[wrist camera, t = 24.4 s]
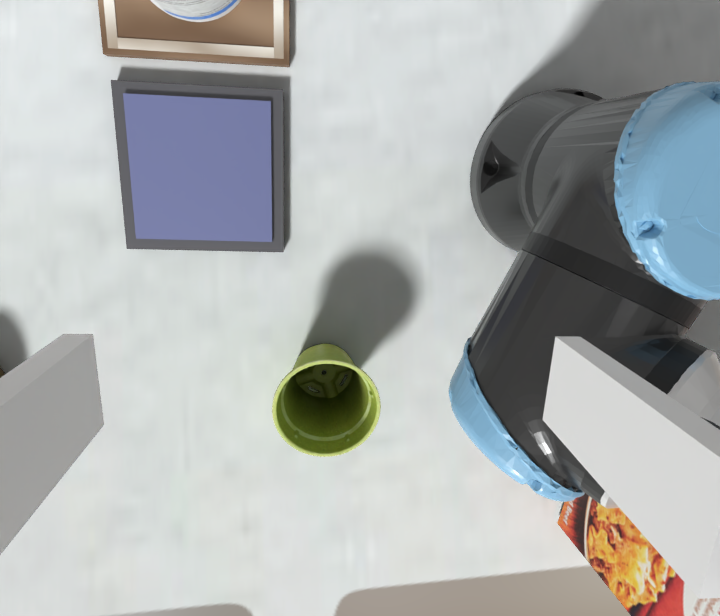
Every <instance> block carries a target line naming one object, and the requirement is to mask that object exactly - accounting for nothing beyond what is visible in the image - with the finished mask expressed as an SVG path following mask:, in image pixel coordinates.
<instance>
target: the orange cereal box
mask: <svg viewBox="0 0 720 616" xmlns="http://www.w3.org/2000/svg"><path fill="white" fill-rule="evenodd" d="M558 525H559V526H560V527H561V528H562V530H563V531H564V532H565V533H566V535H567V536H568V537H569V538H570V540H571V541H572V542H573V543H574V545H575V546H576V547H577V548H578V550H579V551H580V552H581V553H582V555H583V556H584V557H585V558H586V560H587V561H588V562H589V563H590V565H591V566H592V567H593V568H594V570H595V571H596V572H597V573H598V575H599V576H600V577H601V578H602V580H603V581H604V582H605V584H606V585H607V586H608V587H609V589H610V590H611V591H612V592H613V594H614V595H615V596H616V597H617V599H618V600H619V601H620V602H621V604H622V605H623V606H624V607H625V609H626V610H627V611H628V612H629V613H630V615H631V616H720V598H705V599H699V598H698V597H697V596H696V595H695V594H694V593H693V591H692V590H691V589H690V588H689V587H688V586H687V585H686V583H685V582H684V581H683V580H682V579H681V578H680V577H679V575H678V574H677V573H676V572H675V571H674V570H673V569H672V567H671V566H670V565H669V564H668V563H667V562H666V560H665V559H664V558H663V557H662V556H661V555H660V554H659V552H658V551H657V550H656V549H655V548H654V547H653V546H652V544H651V543H650V542H649V541H648V540H647V539H646V538H645V536H644V535H643V534H642V533H641V532H640V531H639V530H638V528H637V527H636V526H635V525H634V524H633V523H632V522H631V520H630V519H629V518H628V517H627V516H626V515H625V514H624V512H623V511H622V510H621V509H620V508H608V509H607V508H605V507H604V506H602V505H600V504H599V503H598V502H596V501H595V500H594V499H592V498H591V497H590V496H588V495H587V494H586V493H585V494H584V495H583V496H581V497H577V498H575V499H574V500H572V501H567V502H565V503H564V505H563V508H562V511H561V514H560V517H559V520H558Z"/></svg>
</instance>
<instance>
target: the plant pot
mask: <svg viewBox="0 0 720 616" xmlns="http://www.w3.org/2000/svg"><path fill="white" fill-rule="evenodd" d="M323 370H325V371H326V374H325V375H323V374H322V371H323ZM345 374H347V378H346V380H345V383H344V384H343V385H340V383H341V381H342V380H343V378H344V376H345ZM308 386H311V387H312V388H314V389H316V390H318V391H320V392H313V391H311V390H309V389H308ZM380 408H381V405H380V397H379V393H378V390H377V388H376V386H375V384H374V382H373V381H372V379H371V378H370V377H369V376H368V375H367V374H366V373H365V372H364V371H363V370H361V369H360V368H359V367H357V366H355V365H354V363H353V361H352V360H351V358H350V357H349V355H348V354H347V353H346V352H345V351H344V350H343V349H341V348H340V347H338V346H335V345H332V344H319V345H315V346H312V347H310V348H307V349H306V350H305V351H303V352H302V353H301V355H300V356H299V357H298V359H297V361H296V363H295V365H294V368H293V370H292V371H291V372H290V373H289V374H287V375H286V376H285V378H284V379H283V380H282V381H281V383H280V384H279V386H278V388H277V390H276V393H275V395H274V399H273V405H272V414H273V420H274V424H275V426H276V428H277V431H278V432H279V434H280V436H281V437H282V438H283V439H284V440H285V441H286V442H287V443H288V444H289V445H290V446H292V447H293V448H295V449H296V450H298V451H300V452H302V453H305V454H309V455H313V456H320V457H321V456H323V457H326V456H328V457H329V456H336V455H341V454H344V453H347V452H349V451H351V450H353V449H355V448H356V447H358V446H359V445H361V444H362V443H363V442H364V441H365V440H366V439H367V438H368V437H369V436H370V435H371V433H372V432H373V430H374V429H375V427H376V425H377V422H378V419H379V415H380Z"/></svg>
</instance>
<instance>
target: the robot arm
mask: <svg viewBox="0 0 720 616" xmlns="http://www.w3.org/2000/svg"><path fill="white" fill-rule="evenodd" d="M470 189H471V197H472V201H473V205H474V208H475V211H476V213H477V216H478V218H479V220H480V221H481V223H482V225H483V226H484V227H485V229H486V230H487V231H488V232H489V233H490V234H491V235H492V236H493V237H494V238H495V239H496V240H497V241H499V242H500V243H501V244H503V245H505V246H507V247H509V248H511V249H513V250H515V251H517V252H519V253H518V255H517V257H516V259H515V261H514V262H513V264H512V266H511V268H510V269H509V271H508V273H507V275H506V277H505V278H504V280H503V282H502V284H501V286H500V287H499V289H498V291H497V293H496V294H495V296H494V298H493V300H492V302H491V303H490V305H489V307H488V309H487V310H486V312H485V314H484V316H483V318H482V319H481V321H480V323H479V325H478V327H477V328H476V330H475V332H474V334H473V335H472V337H470V338H469V339H468V340H467V342H466V344H465V346H464V354H463V356H462V358H461V360H460V362H459V364H458V366H457V368H456V370H455V373H454V375H453V377H452V379H451V382H450V386H449V396H450V401H451V406H452V410H453V412H454V414H455V417H456V419H457V420H458V422H459V424H460V425H461V427H462V429H463V430H464V431H465V433H466V434H467V435H468V437H469V438H470V439H471V440H472V442H473V443H474V444H475V445H476V446H477V447H478V448H479V449H480V450H481V451H482V452H483V454H484V455H485V456H486V457H488V458H489V459H490V460H491V461H492V462H493V463H494V464H495V465H496V466H497V467H499V468H500V469H501V470H502V471H503V472H505V473H506V474H507V475H509V476H510V477H511V478H513V479H514V480H516V481H517V482H519V483H520V484H526V483H527V484H528V485H529V486H530V487H531V488H532V489H533V490H534V491H535V492H536V493H537V494H539V495H541V496H544V497H546V498H548V499H552V500H556V501H563V502H567V501H572V500H574V499H575V498H577V497H581V496H583V495H584V494H585V493H586V494H587V495H588V496H590V497H591V498H592V499H594V500H595V501H596V502H598V503H599V504H600V505H602V506H604V507H605V508H607V509H608V508H620V509H621V510H622V511H623V512H624V514H625V515H626V516H627V517H628V518H629V519H630V520H631V522H632V523H633V524H634V525H635V526H636V527H637V528H638V530H639V531H640V532H641V533H642V534H643V535H644V536H645V538H646V539H647V540H648V541H649V542H650V543H651V544H652V546H653V547H654V548H655V549H656V550H657V551H658V552H659V554H660V555H661V556H662V557H663V558H664V559H665V560H666V562H667V563H668V564H669V565H670V566H671V567H672V569H673V570H674V571H675V572H676V573H677V574H678V575H679V577H680V578H681V579H682V580H683V581H684V582H685V583H686V585H687V586H688V587H689V588H690V589H691V590H692V591H693V593H694V594H695V595H696V596H697V597H698V598H699V599H705V598H720V362H719V360H718V357H717V355H716V353H715V352H713V351H712V350H709V349H707V348H705V347H703V346H701V345H699V344H697V343H695V342H693V341H690V340H688V339H687V338H686V337H685V334H686V333H687V331H688V330H689V328H690V327H691V325H692V324H693V322H694V321H695V319H696V318H697V316H698V315H699V313H700V312H701V310H702V309H703V307H704V306H705V304H706V303H707V301H709V300H713V299H715V300H718V299H720V81H715V82H699V83H696V82H694V81H692V82H682V83H676V84H673V85H671V86H666V87H665V88H664V89H659V90H655V91H650V92H645V93H640V94H636V95H631V96H626V97H621V98H616V99H611V100H605V99H603V98H601V97H599V96H597V95H595V94H592V93H590V92H587V91H583V90H578V89H553V90H548V91H544V92H540V93H536V94H533V95H530V96H527V97H525V98H523V99H521V100H519V101H517V102H515V103H514V104H512V105H511V106H509V107H508V108H506V109H505V110H504V111H503V112H502V113H501V114H500V115H499V116H498V117H497V118H496V119H495V120H494V121H493V122H492V123H491V124H490V126H489V127H488V128H487V130H486V131H485V133H484V135H483V136H482V138H481V140H480V142H479V144H478V147H477V149H476V152H475V155H474V158H473V162H472V167H471V175H470ZM685 327H686V328H685ZM687 328H688V329H687ZM103 425H104V421H103V413H102V404H101V396H100V388H99V380H98V372H97V364H96V356H95V348H94V340H93V334H63V335H61V336H60V337H58V338H57V339H56V340H54V341H53V342H51V343H50V344H48V345H47V346H45V347H44V348H43V349H41V350H40V351H38V352H37V353H35V354H34V355H33V356H31V357H30V358H28V359H27V360H25V361H24V362H22V363H21V364H20V365H18V366H17V367H15V368H14V369H12V370H11V371H9V372H8V373H7V374H5V375H4V376H2V377H1V378H0V555H1V553H2V552H3V551H4V550H5V548H6V547H7V546H8V545H9V543H10V542H11V541H12V540H13V538H14V537H15V536H16V535H17V533H18V532H19V531H20V529H21V528H22V527H23V526H24V524H25V523H26V522H27V521H28V519H29V518H30V517H31V516H32V514H33V513H34V512H35V511H36V509H37V508H38V507H39V506H40V504H41V503H42V502H43V501H44V499H45V498H46V497H47V496H48V494H49V493H50V492H51V491H52V489H53V488H54V487H55V486H56V484H57V483H58V482H59V481H60V479H61V478H62V477H63V475H64V474H65V473H66V472H67V470H68V469H69V468H70V467H71V465H72V464H73V463H74V462H75V460H76V459H77V458H78V457H79V455H80V454H81V453H82V452H83V450H84V449H85V448H86V447H87V445H88V444H89V443H90V442H91V440H92V439H93V438H94V437H95V435H96V434H97V433H98V432H99V430H100V429H101V428H102V427H103Z"/></svg>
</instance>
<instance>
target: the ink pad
mask: <svg viewBox="0 0 720 616" xmlns="http://www.w3.org/2000/svg"><path fill="white" fill-rule="evenodd" d="M111 87H112V97H113V108H114V118H115V129H116V139H117V150H118V161H119V171H120V182H121V192H122V203H123V213H124V224H125V234H126V245H127V249H162V250H207V251H252V252H284V91H283V90H280V89H262V88H244V87H226V86H208V85H190V84H172V83H155V82H137V81H119V80H111Z"/></svg>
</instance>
